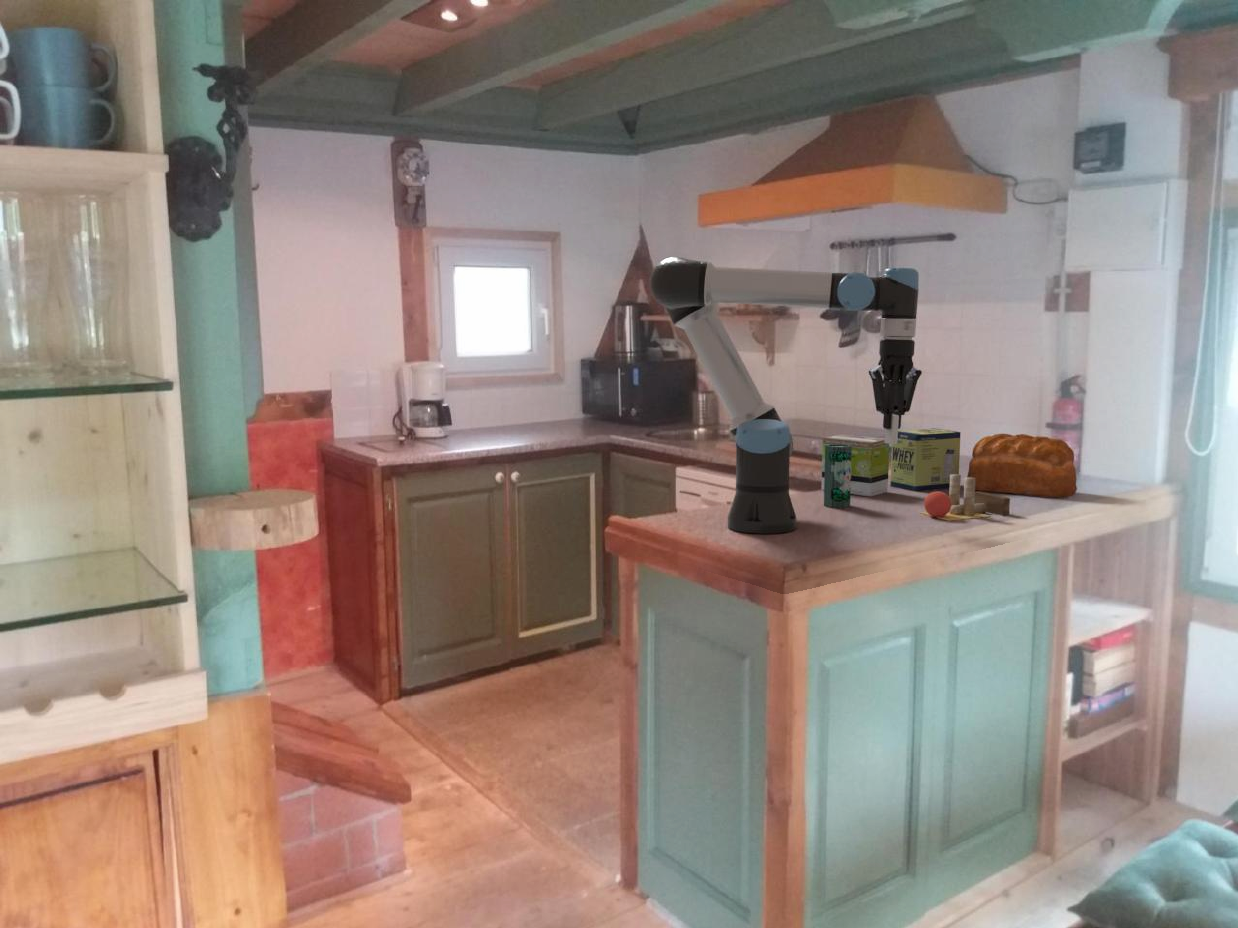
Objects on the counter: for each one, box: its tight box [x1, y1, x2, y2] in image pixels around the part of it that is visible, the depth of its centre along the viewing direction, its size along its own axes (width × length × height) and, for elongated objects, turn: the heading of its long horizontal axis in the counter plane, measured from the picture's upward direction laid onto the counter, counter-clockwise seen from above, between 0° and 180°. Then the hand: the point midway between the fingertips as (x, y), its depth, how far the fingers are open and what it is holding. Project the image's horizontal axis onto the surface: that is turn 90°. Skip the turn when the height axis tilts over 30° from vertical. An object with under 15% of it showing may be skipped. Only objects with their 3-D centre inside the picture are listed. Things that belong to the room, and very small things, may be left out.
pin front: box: [949, 503, 987, 515], centre depth 229 cm, size 2×2×9 cm
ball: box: [923, 490, 951, 518], centre depth 225 cm, size 6×6×6 cm
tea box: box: [821, 434, 890, 497], centre depth 260 cm, size 15×10×15 cm
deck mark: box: [919, 511, 991, 522], centre depth 228 cm, size 12×10×1 cm
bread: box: [966, 433, 1078, 499], centre depth 259 cm, size 14×26×16 cm, turn 50°
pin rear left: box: [948, 474, 962, 506], centre depth 230 cm, size 2×2×9 cm
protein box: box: [890, 428, 962, 493], centre depth 267 cm, size 10×16×16 cm
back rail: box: [974, 491, 1011, 516], centre depth 231 cm, size 2×10×4 cm, turn 21°
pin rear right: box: [962, 476, 976, 516], centre depth 226 cm, size 2×2×9 cm
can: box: [823, 444, 852, 509], centre depth 240 cm, size 6×6×15 cm
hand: (890, 443), depth 220 cm, fingers closed
